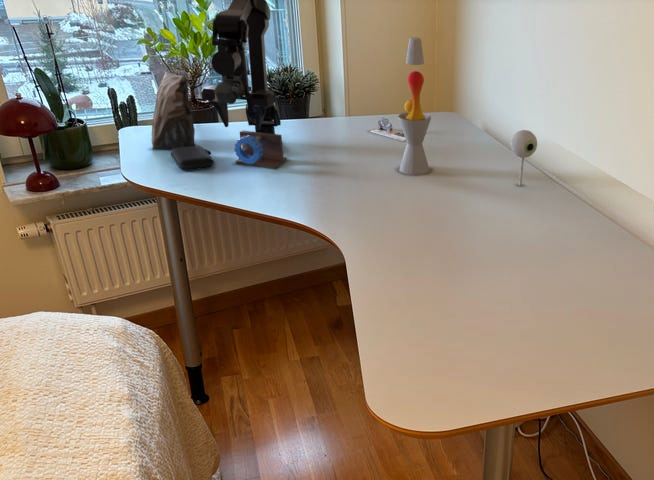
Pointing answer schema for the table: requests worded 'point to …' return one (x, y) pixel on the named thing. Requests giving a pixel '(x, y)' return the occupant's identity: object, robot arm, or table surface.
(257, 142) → the tape roll
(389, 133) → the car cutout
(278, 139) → the hook
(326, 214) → the table surface
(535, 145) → the eyeball on stand
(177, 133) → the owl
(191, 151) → the carrying case
